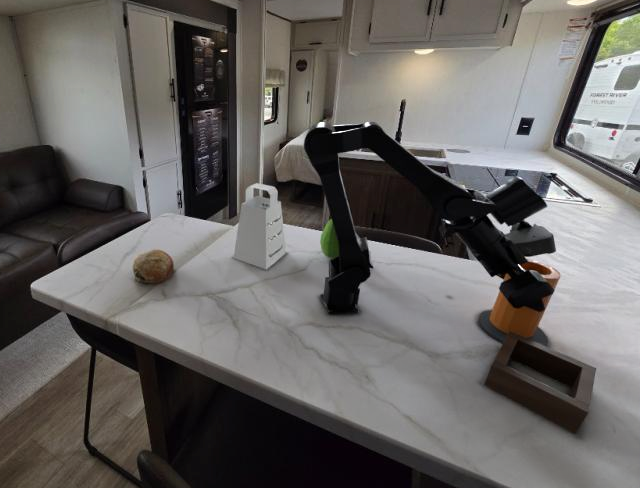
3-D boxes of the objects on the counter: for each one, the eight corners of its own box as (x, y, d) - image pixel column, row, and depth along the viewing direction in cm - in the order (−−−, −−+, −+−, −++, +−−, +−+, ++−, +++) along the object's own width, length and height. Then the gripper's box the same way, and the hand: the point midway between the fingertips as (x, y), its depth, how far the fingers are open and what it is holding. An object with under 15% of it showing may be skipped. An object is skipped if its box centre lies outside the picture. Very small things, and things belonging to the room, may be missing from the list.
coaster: (507, 353, 62) (508, 351, 61) (465, 313, 72) (465, 311, 71) (563, 348, 62) (564, 346, 62) (513, 310, 72) (514, 308, 72)
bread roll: (132, 287, 87) (119, 269, 81) (152, 255, 93) (140, 236, 87) (165, 295, 83) (153, 278, 78) (183, 262, 89) (174, 243, 84)
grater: (254, 243, 101) (255, 178, 93) (285, 253, 95) (289, 185, 87) (233, 257, 93) (232, 188, 85) (266, 269, 88) (268, 196, 79)
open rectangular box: (575, 434, 48) (588, 412, 46) (483, 384, 55) (491, 364, 54) (584, 388, 55) (596, 368, 53) (501, 349, 62) (509, 330, 60)
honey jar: (523, 342, 62) (549, 282, 57) (482, 320, 68) (503, 263, 63) (540, 330, 65) (567, 272, 60) (500, 309, 71) (522, 255, 66)
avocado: (316, 261, 91) (320, 220, 86) (321, 248, 97) (325, 209, 93) (347, 267, 88) (353, 225, 83) (350, 253, 95) (356, 213, 90)
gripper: (562, 237, 50) (620, 310, 52) (505, 195, 66) (550, 251, 68) (485, 275, 55) (540, 340, 57) (450, 227, 71) (494, 279, 73)
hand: (531, 298), depth 64 cm, fingers closed on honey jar, 7 cm apart
